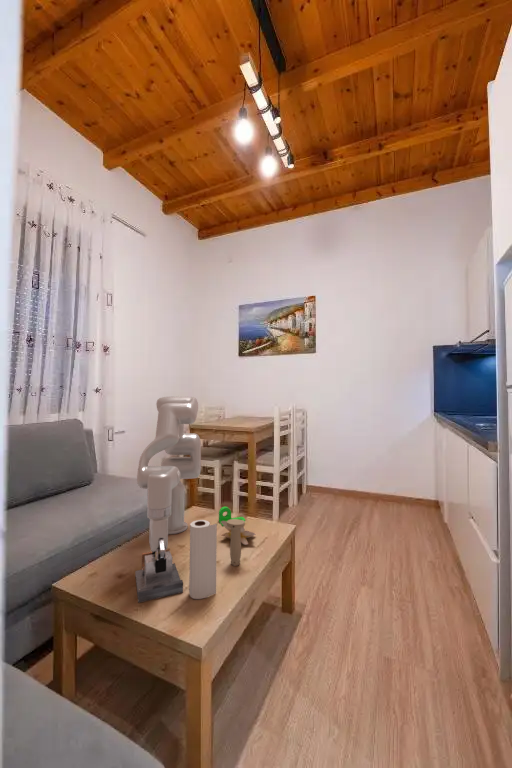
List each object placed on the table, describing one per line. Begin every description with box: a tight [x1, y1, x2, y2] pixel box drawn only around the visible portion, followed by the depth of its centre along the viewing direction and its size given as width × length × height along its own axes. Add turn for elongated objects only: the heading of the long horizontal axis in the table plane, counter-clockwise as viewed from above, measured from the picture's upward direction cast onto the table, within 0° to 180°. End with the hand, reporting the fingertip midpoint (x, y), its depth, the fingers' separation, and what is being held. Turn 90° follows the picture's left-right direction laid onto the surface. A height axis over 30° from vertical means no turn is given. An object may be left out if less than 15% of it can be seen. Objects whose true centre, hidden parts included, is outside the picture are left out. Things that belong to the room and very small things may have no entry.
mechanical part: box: [218, 506, 246, 527], centre depth 153 cm, size 12×6×8 cm, turn 114°
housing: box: [144, 550, 173, 586], centre depth 105 cm, size 5×8×8 cm, turn 114°
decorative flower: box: [220, 521, 256, 545], centre depth 135 cm, size 15×11×10 cm
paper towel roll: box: [188, 519, 218, 600], centre depth 99 cm, size 7×6×21 cm
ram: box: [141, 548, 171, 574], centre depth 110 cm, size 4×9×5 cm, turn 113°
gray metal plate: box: [134, 562, 184, 603], centre depth 105 cm, size 16×13×3 cm
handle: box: [227, 519, 246, 567], centre depth 117 cm, size 5×6×15 cm
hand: (158, 563), depth 105 cm, fingers open, 9 cm apart
